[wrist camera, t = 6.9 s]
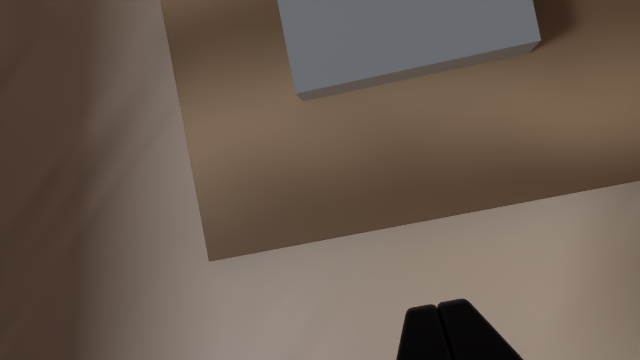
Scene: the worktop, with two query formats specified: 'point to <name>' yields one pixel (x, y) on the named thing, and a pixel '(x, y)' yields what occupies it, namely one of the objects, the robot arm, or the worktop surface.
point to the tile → (397, 39)
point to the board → (397, 126)
